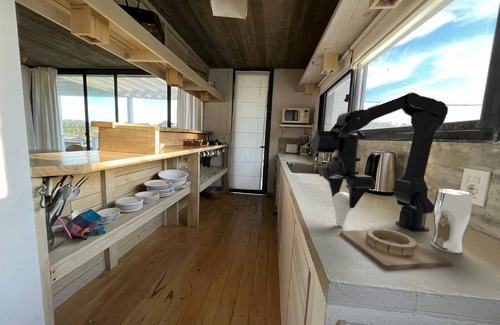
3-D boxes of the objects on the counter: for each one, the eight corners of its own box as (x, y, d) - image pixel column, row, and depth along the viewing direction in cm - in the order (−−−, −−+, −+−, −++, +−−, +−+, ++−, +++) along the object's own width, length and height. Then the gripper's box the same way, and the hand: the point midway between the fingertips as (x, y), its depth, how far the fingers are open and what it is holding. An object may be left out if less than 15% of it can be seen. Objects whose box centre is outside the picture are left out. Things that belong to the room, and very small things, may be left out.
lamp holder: (391, 232, 64) (392, 222, 64) (452, 265, 48) (454, 253, 47) (339, 234, 62) (340, 224, 61) (385, 269, 45) (386, 256, 45)
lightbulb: (353, 231, 64) (356, 195, 63) (331, 228, 65) (334, 193, 64) (348, 223, 70) (351, 190, 69) (328, 221, 71) (331, 189, 70)
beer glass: (468, 257, 51) (478, 197, 50) (431, 249, 55) (439, 192, 53) (459, 246, 57) (468, 191, 56) (426, 238, 61) (433, 187, 59)
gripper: (309, 151, 73) (306, 195, 75) (339, 155, 55) (334, 214, 56) (339, 152, 75) (335, 195, 76) (378, 156, 56) (372, 213, 58)
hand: (342, 203), depth 67 cm, fingers open, 9 cm apart
